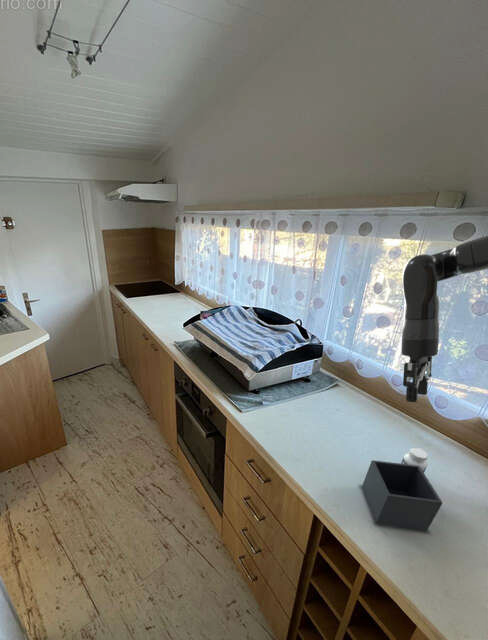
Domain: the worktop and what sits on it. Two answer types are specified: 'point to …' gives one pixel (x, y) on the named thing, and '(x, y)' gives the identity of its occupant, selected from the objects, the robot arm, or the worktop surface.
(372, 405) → the worktop surface
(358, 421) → the worktop surface
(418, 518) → the waste bin
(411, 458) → the pill bottle
